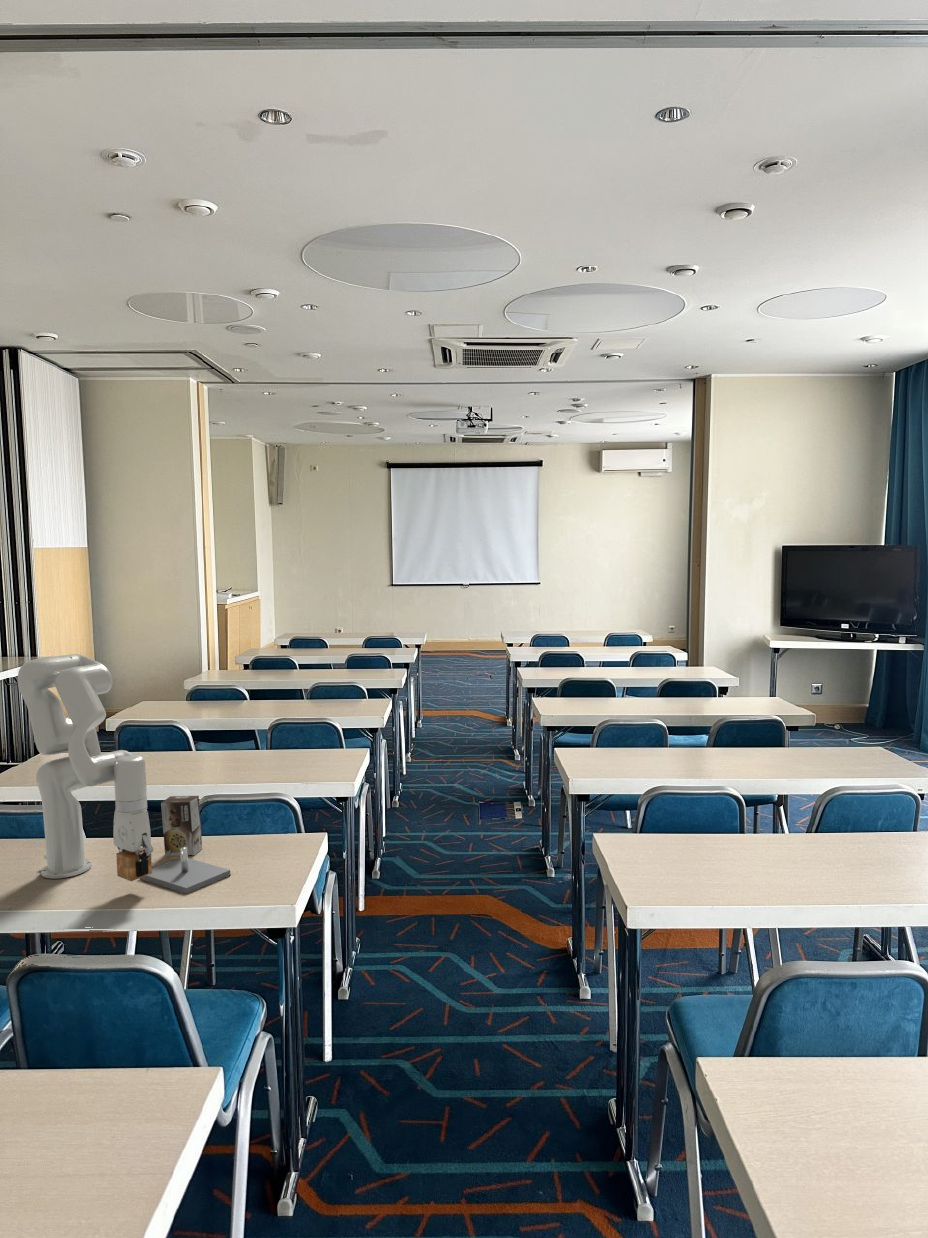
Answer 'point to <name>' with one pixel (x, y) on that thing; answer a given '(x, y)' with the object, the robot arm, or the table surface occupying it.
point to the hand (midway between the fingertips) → (134, 871)
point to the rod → (184, 859)
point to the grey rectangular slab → (186, 875)
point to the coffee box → (181, 825)
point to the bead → (129, 865)
